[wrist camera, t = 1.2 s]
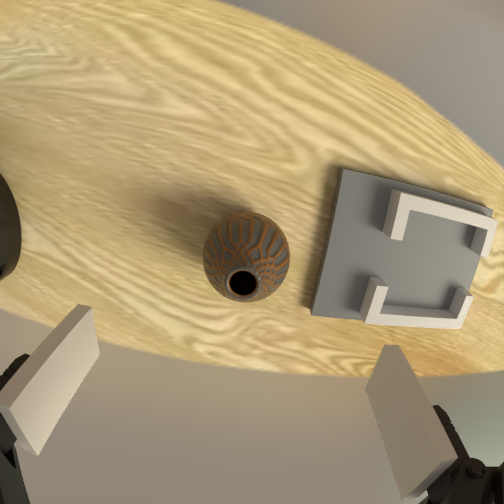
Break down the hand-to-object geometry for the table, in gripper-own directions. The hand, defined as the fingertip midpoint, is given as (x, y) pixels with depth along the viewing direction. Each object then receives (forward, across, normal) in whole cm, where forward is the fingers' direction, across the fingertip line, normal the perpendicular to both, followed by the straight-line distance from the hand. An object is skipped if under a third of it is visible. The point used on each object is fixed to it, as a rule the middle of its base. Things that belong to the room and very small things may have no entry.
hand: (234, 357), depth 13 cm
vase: (+17, 0, 0) cm, 17 cm away
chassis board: (+16, +16, +1) cm, 23 cm away
